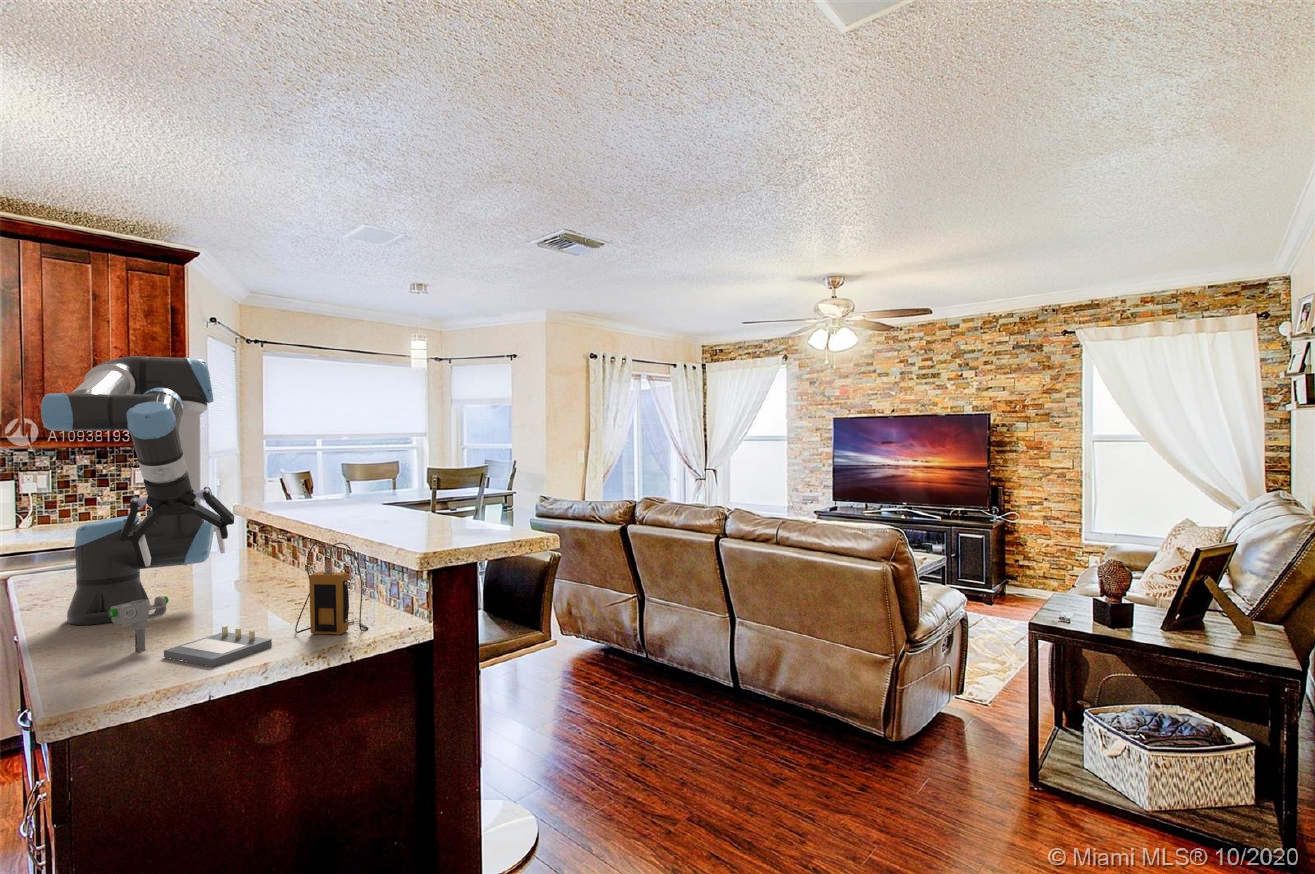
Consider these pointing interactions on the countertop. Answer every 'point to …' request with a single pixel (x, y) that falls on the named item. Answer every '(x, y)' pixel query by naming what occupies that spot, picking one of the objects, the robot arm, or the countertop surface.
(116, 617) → the mechanical component
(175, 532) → the robot arm
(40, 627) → the countertop surface
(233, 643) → the board
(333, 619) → the multimeter
